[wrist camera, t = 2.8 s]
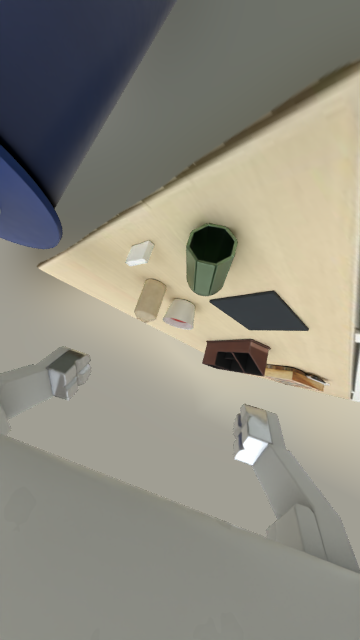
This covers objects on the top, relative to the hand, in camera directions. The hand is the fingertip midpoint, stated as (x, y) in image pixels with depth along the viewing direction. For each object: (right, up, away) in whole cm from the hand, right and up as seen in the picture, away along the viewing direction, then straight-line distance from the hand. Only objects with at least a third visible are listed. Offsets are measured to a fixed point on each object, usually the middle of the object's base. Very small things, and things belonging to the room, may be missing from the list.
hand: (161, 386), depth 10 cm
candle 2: (+2, +8, +47) cm, 47 cm away
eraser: (-6, +17, +25) cm, 31 cm away
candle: (-5, +13, +40) cm, 42 cm away
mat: (+21, +5, +39) cm, 44 cm away
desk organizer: (+25, -7, +76) cm, 80 cm away
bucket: (+6, +15, +20) cm, 26 cm away
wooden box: (+64, -26, +99) cm, 121 cm away
